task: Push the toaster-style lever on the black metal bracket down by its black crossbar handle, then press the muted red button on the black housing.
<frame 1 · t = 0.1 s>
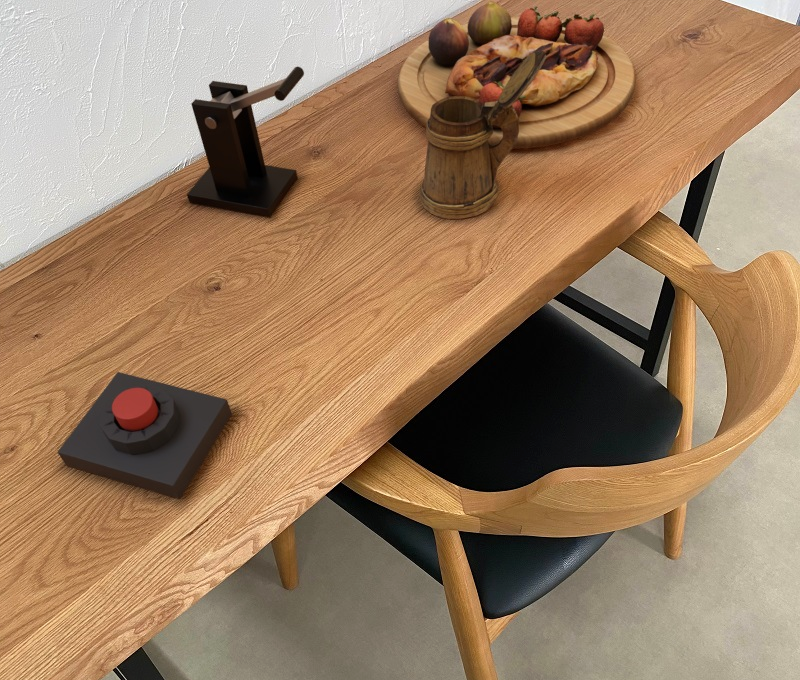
wooden plate: (514, 88, 109), on the table
wooden mug: (477, 198, 94), on the table
lever: (252, 97, 87), point 13 cm above the table, hinge at 25.0°
bracket: (244, 190, 98), on the table
button: (135, 409, 71), point 5 cm above the table, slide at 0.2 cm
button box: (150, 439, 74), on the table
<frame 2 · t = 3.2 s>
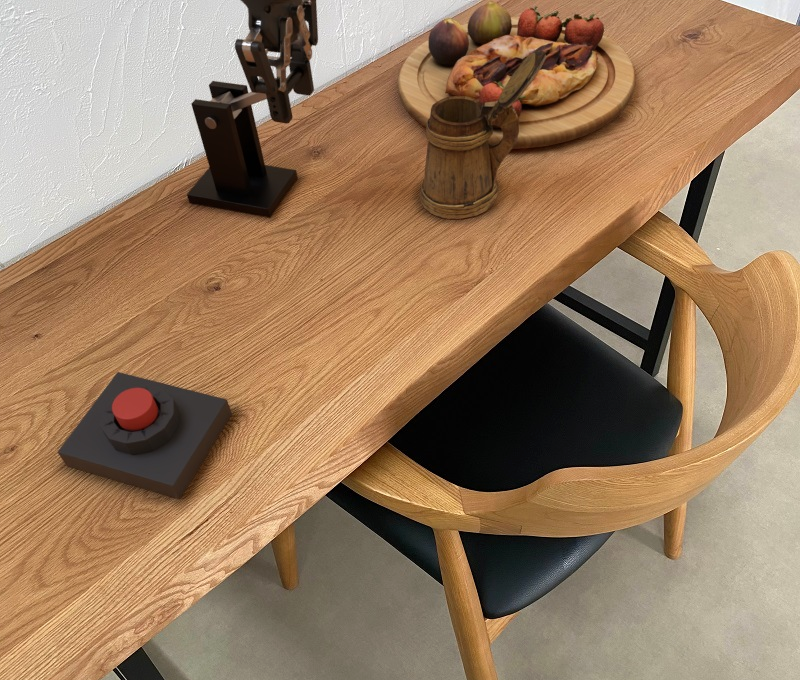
hand: (293, 106, 86), 13 cm above the table, tool pointing down, fingers closed on lever, 5 cm apart
lever: (252, 97, 87), point 13 cm above the table, hinge at 24.9°, touching gripper
everything else where it was.
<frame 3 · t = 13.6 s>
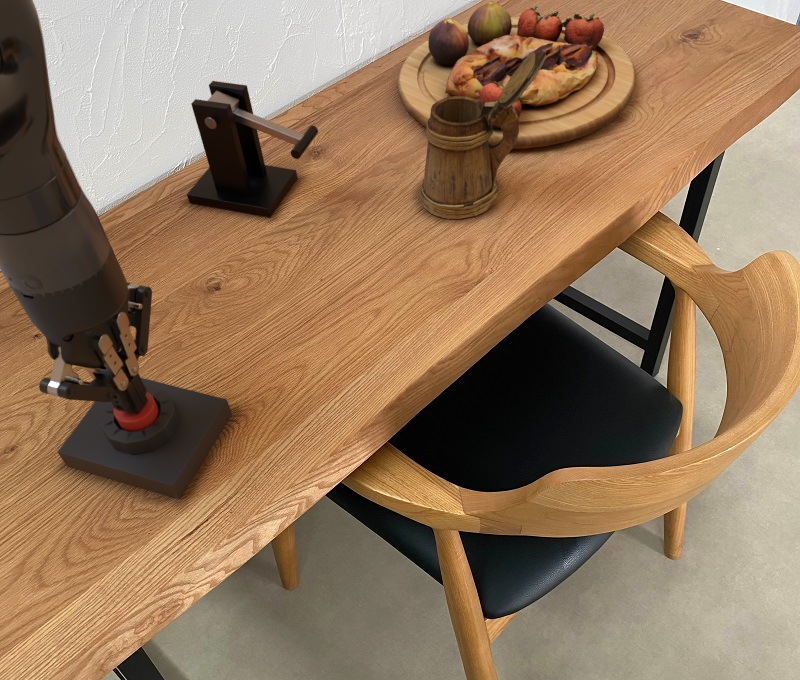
hand: (134, 406, 70), 5 cm above the table, tool pointing down, fingers closed
lever: (260, 124, 89), point 10 cm above the table, hinge at -15.5°
button: (136, 412, 71), point 4 cm above the table, slide at -0.3 cm, touching gripper
everything else where it was.
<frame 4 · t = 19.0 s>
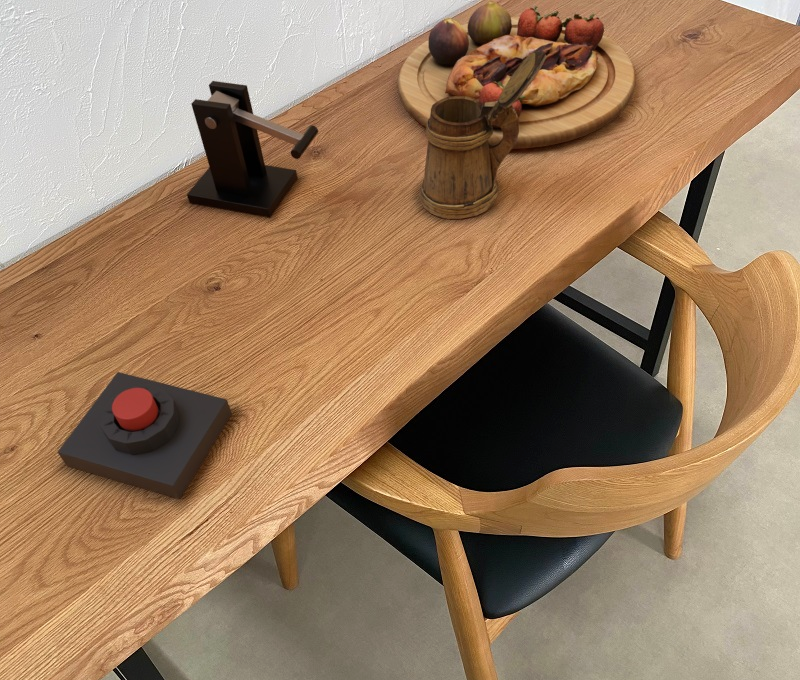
button: (135, 409, 71), point 5 cm above the table, slide at 0.2 cm
everything else where it was.
at the end: lever at -16° (first picture: +25°); button pushed in 1.1 cm at the most during the clip, back to 0.2 cm at the end; button slide at 0.2 cm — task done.
